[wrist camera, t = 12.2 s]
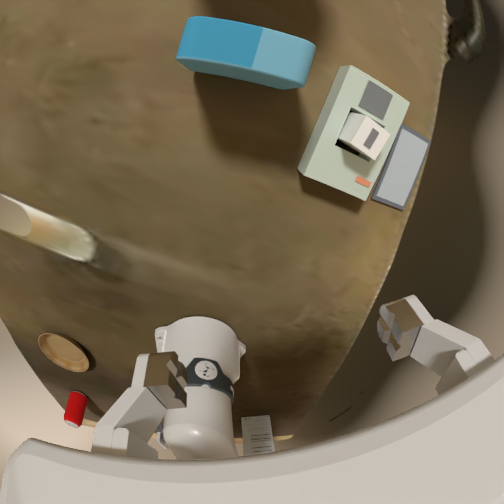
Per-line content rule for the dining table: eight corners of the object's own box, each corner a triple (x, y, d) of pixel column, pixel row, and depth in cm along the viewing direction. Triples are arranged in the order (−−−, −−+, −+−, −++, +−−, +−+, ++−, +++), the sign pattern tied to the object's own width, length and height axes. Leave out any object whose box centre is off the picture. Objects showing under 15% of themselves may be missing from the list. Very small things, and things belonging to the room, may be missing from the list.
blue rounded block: (291, 60, 28) (321, 44, 18) (282, 90, 30) (308, 87, 20) (199, 40, 26) (185, 13, 16) (190, 71, 28) (172, 58, 18)
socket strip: (355, 192, 39) (365, 201, 36) (297, 168, 36) (303, 175, 33) (396, 100, 31) (410, 102, 28) (339, 67, 29) (351, 64, 26)
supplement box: (269, 424, 80) (275, 467, 66) (242, 427, 79) (246, 470, 65) (270, 414, 75) (276, 461, 60) (240, 416, 74) (244, 464, 60)
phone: (400, 208, 41) (403, 210, 40) (369, 196, 40) (372, 198, 39) (427, 139, 35) (431, 141, 34) (397, 122, 33) (401, 123, 33)
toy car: (204, 450, 70) (211, 458, 76) (204, 425, 78) (210, 435, 84) (152, 447, 69) (163, 456, 75) (154, 423, 77) (164, 434, 83)
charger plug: (351, 148, 35) (375, 160, 29) (329, 134, 34) (350, 143, 28) (365, 126, 33) (391, 134, 27) (343, 110, 32) (367, 115, 26)
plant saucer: (45, 316, 47) (40, 324, 45) (97, 347, 53) (94, 356, 51) (39, 344, 53) (36, 352, 51) (85, 371, 59) (82, 378, 56)
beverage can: (91, 399, 67) (84, 430, 57) (77, 397, 67) (70, 427, 57) (81, 389, 64) (73, 421, 54) (68, 388, 64) (59, 418, 54)
